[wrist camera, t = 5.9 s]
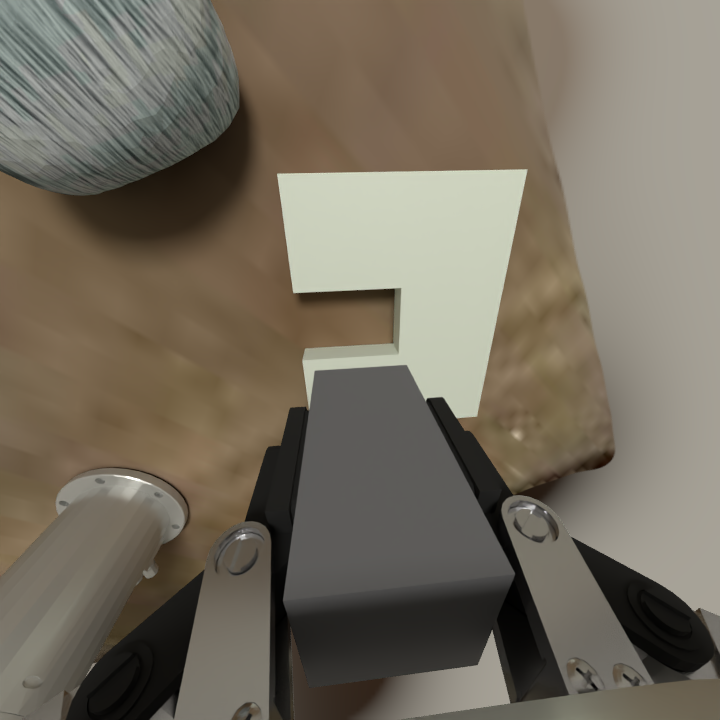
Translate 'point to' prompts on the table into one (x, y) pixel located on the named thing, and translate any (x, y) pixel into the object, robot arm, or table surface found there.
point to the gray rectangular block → (386, 538)
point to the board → (409, 266)
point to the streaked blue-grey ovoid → (110, 89)
